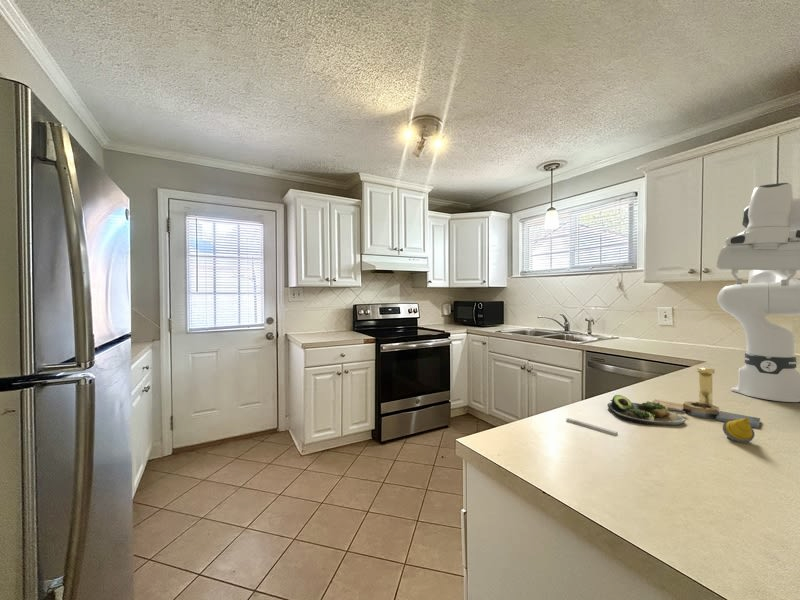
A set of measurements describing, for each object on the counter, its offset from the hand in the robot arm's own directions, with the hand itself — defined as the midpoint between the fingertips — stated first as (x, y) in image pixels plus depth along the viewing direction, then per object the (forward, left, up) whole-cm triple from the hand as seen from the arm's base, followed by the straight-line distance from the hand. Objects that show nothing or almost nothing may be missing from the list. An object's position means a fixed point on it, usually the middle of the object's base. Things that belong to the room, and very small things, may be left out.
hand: (760, 285), depth 100 cm
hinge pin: (+9, -11, -38) cm, 40 cm away
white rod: (+52, -28, -38) cm, 70 cm away
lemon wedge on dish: (+35, -1, -38) cm, 51 cm away
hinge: (+17, -11, -38) cm, 43 cm away
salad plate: (+30, -23, -38) cm, 54 cm away
